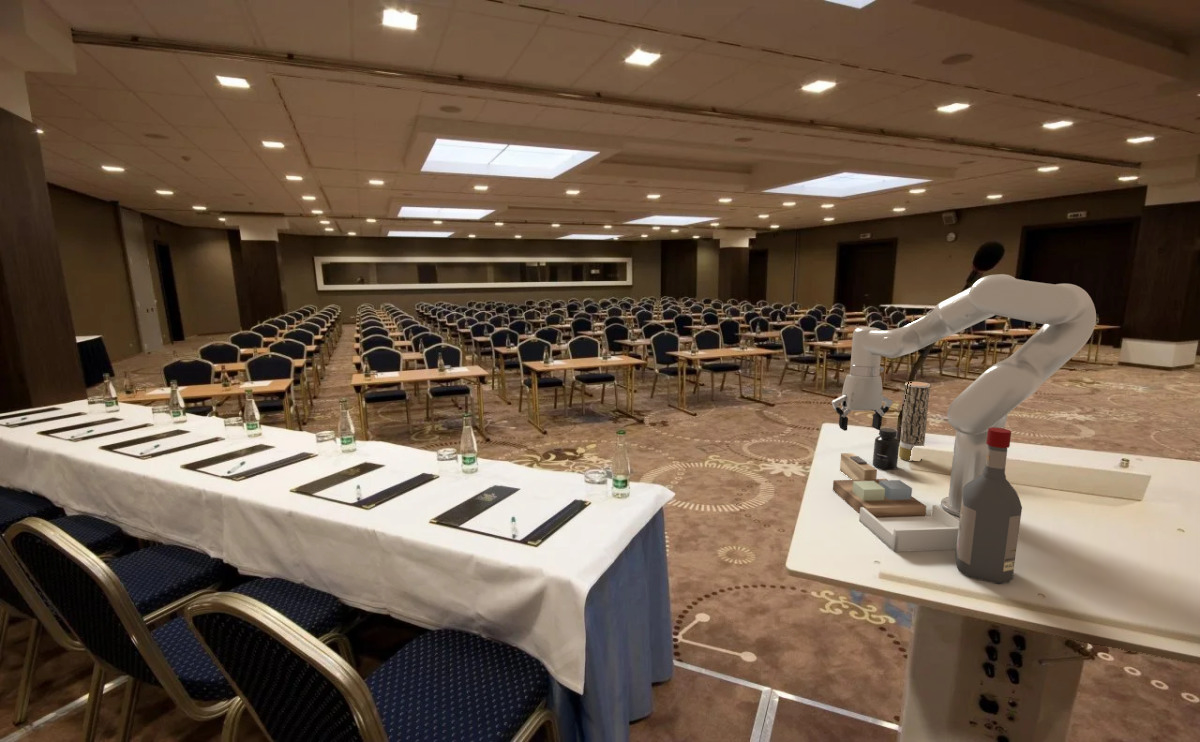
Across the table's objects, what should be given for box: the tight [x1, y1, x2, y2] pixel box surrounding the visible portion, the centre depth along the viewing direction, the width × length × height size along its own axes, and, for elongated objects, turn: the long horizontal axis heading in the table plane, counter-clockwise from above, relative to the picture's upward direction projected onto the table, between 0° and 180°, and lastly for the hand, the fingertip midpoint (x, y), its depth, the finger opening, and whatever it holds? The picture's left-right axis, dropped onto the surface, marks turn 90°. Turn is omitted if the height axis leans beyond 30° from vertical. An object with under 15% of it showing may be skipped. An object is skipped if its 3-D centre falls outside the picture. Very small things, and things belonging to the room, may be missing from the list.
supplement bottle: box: [872, 427, 900, 471], centre depth 167 cm, size 7×7×12 cm
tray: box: [859, 504, 960, 553], centre depth 125 cm, size 15×19×5 cm
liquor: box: [955, 427, 1023, 585], centre depth 107 cm, size 9×9×30 cm
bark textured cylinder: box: [898, 381, 931, 462], centre depth 172 cm, size 7×7×25 cm
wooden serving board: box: [832, 478, 927, 518], centre depth 142 cm, size 18×15×3 cm
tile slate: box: [879, 479, 913, 500], centre depth 140 cm, size 6×6×3 cm
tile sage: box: [852, 481, 885, 501], centre depth 139 cm, size 6×6×3 cm
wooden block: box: [839, 452, 878, 480], centre depth 158 cm, size 4×14×7 cm, turn 2°
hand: (859, 428), depth 155 cm, fingers open, 9 cm apart
